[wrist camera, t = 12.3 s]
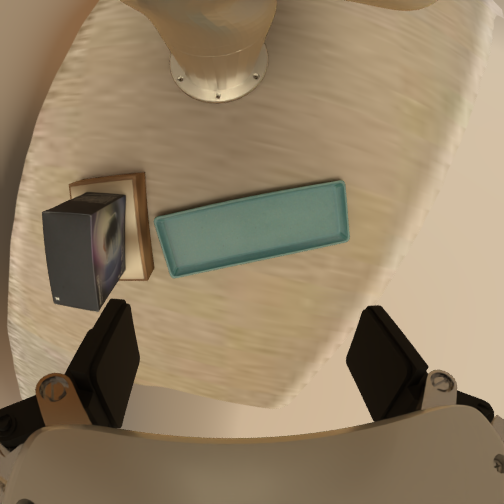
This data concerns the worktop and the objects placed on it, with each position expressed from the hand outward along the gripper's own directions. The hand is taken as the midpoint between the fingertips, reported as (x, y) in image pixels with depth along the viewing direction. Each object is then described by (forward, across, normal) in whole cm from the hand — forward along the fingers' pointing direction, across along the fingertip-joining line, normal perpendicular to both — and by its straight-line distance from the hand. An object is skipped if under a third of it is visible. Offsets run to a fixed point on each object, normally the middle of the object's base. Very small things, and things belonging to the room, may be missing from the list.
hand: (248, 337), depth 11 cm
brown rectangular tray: (+29, +16, +5) cm, 33 cm away
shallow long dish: (+29, -3, +4) cm, 30 cm away
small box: (+24, +16, +4) cm, 30 cm away
